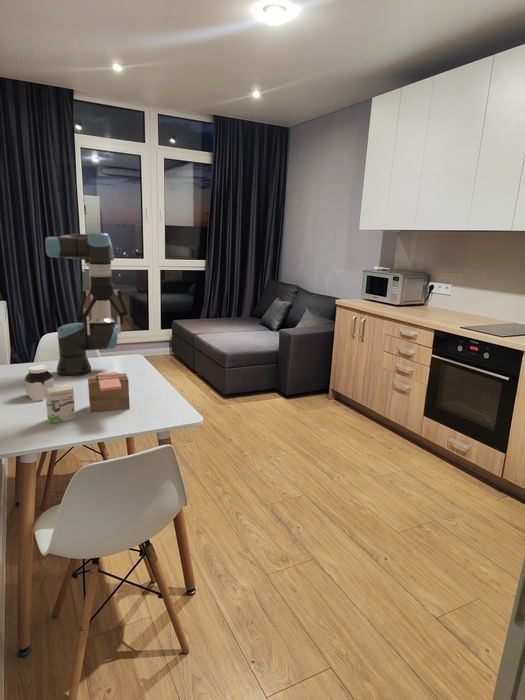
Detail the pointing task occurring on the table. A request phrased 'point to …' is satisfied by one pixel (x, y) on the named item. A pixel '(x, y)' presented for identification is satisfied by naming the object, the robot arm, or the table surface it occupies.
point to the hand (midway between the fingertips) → (104, 333)
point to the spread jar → (38, 382)
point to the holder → (108, 393)
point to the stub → (109, 384)
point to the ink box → (60, 404)
